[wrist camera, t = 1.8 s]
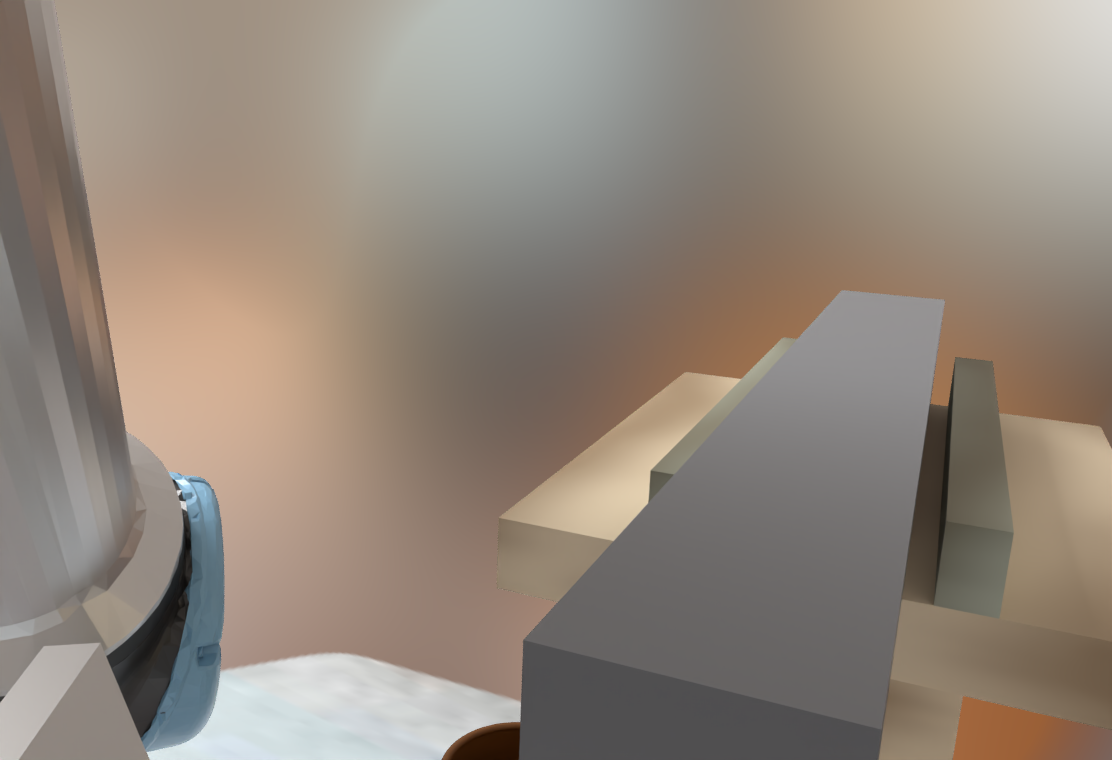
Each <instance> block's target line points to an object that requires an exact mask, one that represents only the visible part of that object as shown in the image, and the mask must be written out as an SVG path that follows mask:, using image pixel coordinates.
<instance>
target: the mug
mask: <svg viewBox="0 0 1112 760" xmlns="http://www.w3.org/2000/svg"><path fill="white" fill-rule="evenodd" d="M519 749H520V722H511V723H500V724H494V725H490V726H486V727H482V728H479V729H477V730H474V731H472V732H470V733H468V734H466V735H464V736H463V737H461V738H460V739H458V740H457V741H456V742H455V743H453V744H452V745H451V746H450V748H449V749H448V750H447V751H446V753H445V755H444V756H443V758H442V760H519Z"/></svg>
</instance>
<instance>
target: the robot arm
mask: <svg viewBox="0 0 1112 760" xmlns="http://www.w3.org/2000/svg"><path fill="white" fill-rule="evenodd" d="M223 623H224V552H223V537H222V525H221V517H220V511H219V504H218V501H217V498H216V495H215V492H214V490H213V489H212V488H211V486H210V485H209V483H208V482H207V481H206V480H205V479H202V478H200V477H197V476H182V475H181V474H179V473H174V472H168V471H167V470H166V468H165V466H164V465H163V463H162V462H161V461H160V460H159V458H158V457H157V456H156V455H155V454H154V453H153V452H152V451H151V450H150V449H149V448H148V447H147V446H145V445H144V444H143V443H142V442H141V441H139V440H138V439H137V438H136V437H134V436H133V435H131V434H129V433H128V432H126V430H125V423H124V417H123V411H122V405H121V400H120V393H119V387H118V381H117V375H116V369H115V363H114V357H113V351H112V345H111V339H110V333H109V327H108V321H107V315H106V309H105V303H104V297H103V290H102V285H101V278H100V272H99V266H98V260H97V255H96V248H95V242H94V237H93V230H92V224H91V218H90V212H89V207H88V200H87V194H86V189H85V182H84V176H83V170H82V164H81V158H80V152H79V146H78V140H77V134H76V127H75V122H74V116H73V109H72V104H71V97H70V91H69V85H68V80H67V73H66V68H65V61H64V55H63V49H62V43H61V37H60V31H59V25H58V19H57V13H56V7H55V2H54V0H0V760H149V757H148V755H147V753H146V752H149V751H154V750H158V749H163V748H167V747H172V746H176V745H180V744H182V743H184V742H187V741H189V740H190V739H192V738H193V737H195V736H196V735H197V734H198V733H199V732H200V731H201V730H202V729H203V728H204V726H205V725H206V723H207V722H208V720H209V718H210V716H211V714H212V711H213V708H214V704H215V700H216V695H217V690H218V685H219V678H220V666H221V665H220V664H221V648H220V645H219V643H220V640H221V637H222V629H223Z"/></svg>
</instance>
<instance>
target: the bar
mask: <svg viewBox="0 0 1112 760" xmlns="http://www.w3.org/2000/svg"><path fill="white" fill-rule="evenodd" d="M944 303H945V300H940V299H929V298H918V297H907V296H897V295H887V294H876V293H864V292H854V291H844V290H843V291H841V292H840V293H839V294H838V295H837V296H836V297H835V298H834V300H833V301H832V302H831V303H830V304H829V305H828V306H827V307H826V308H825V309H824V311H823V312H822V313H821V314H820V315H819V316H818V317H817V318H816V319H815V320H814V321H813V323H812V324H811V325H810V326H809V327H808V328H807V329H806V330H805V331H804V333H803V334H802V335H801V336H800V337H799V338H798V339H797V340H796V341H795V342H794V343H793V345H792V346H791V347H790V348H789V349H788V350H787V351H786V352H785V353H784V354H783V356H782V357H781V358H780V359H779V360H778V361H777V362H776V363H775V364H774V365H773V367H772V368H771V369H770V370H769V371H768V372H767V373H766V374H765V375H764V376H763V377H762V379H761V380H760V381H759V382H758V383H757V384H756V385H755V386H754V387H753V388H752V390H751V391H750V392H749V393H748V394H747V395H746V396H745V397H744V398H743V399H742V401H741V402H740V403H739V404H738V405H737V406H736V407H735V408H734V409H733V410H732V412H731V413H730V414H729V415H728V416H727V417H726V418H725V419H724V420H723V421H722V423H721V424H720V425H719V426H718V427H717V428H716V429H715V430H714V431H713V432H712V434H711V435H710V436H709V437H708V438H707V439H706V440H705V441H704V442H703V443H702V444H701V446H700V447H699V448H698V449H697V450H696V451H695V452H694V453H693V454H692V455H691V457H690V458H689V459H688V460H687V461H686V462H685V463H684V464H683V465H682V466H681V468H680V469H679V470H678V471H677V472H676V473H675V474H674V475H673V476H672V477H671V479H670V480H669V481H668V482H667V483H666V484H665V485H664V486H663V487H662V488H661V490H660V491H659V492H658V493H657V494H656V495H655V496H654V497H653V498H652V499H651V501H650V502H649V503H648V504H647V505H646V506H645V507H644V508H643V509H642V510H641V511H640V513H639V514H638V515H637V516H636V517H635V518H634V519H633V520H632V521H631V522H630V524H629V525H628V526H627V527H626V528H625V529H624V530H623V531H622V532H621V533H620V535H619V536H618V537H617V538H616V539H615V540H614V541H613V542H612V543H611V544H610V546H609V547H608V548H607V549H606V550H605V551H604V552H603V553H602V554H601V555H600V557H599V558H598V559H597V560H596V561H595V562H594V563H593V564H592V565H591V566H590V568H589V569H588V570H587V571H586V572H585V573H584V574H583V575H582V576H581V577H580V579H579V580H578V581H577V582H576V583H575V584H574V585H573V586H572V587H571V588H570V589H569V591H568V592H567V593H566V594H565V595H564V596H563V597H562V598H561V599H560V600H559V602H558V603H557V604H556V605H555V606H554V607H553V608H552V609H551V611H550V612H549V613H548V614H547V615H546V616H545V617H544V618H543V619H542V620H541V621H540V623H539V624H538V625H537V626H536V627H535V628H534V629H533V630H532V631H531V632H530V633H529V635H528V636H527V637H526V638H525V639H524V640H523V666H522V667H523V669H522V694H521V721H520V749H519V760H879V754H880V747H881V740H882V733H883V726H884V719H885V712H886V705H887V698H888V692H889V685H890V678H891V671H892V664H893V657H894V650H895V643H896V637H897V630H898V623H899V616H900V609H901V602H902V595H903V588H904V581H905V575H906V568H907V561H908V554H909V547H910V540H911V533H912V526H913V520H914V513H915V506H916V499H917V492H918V485H919V478H920V471H921V464H922V458H923V451H924V444H925V437H926V430H927V423H928V416H929V409H930V403H931V396H932V389H933V381H934V374H935V367H936V360H937V353H938V345H939V339H940V332H941V324H942V318H943V310H944Z"/></svg>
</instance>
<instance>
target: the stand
mask: <svg viewBox="0 0 1112 760" xmlns="http://www.w3.org/2000/svg"><path fill="white" fill-rule="evenodd" d="M796 340H797V339H791V338H782V339H781V340H780V341H779V342H778V343H777V344H776V345H775V346H774V347H773V348H772V349H771V350H770V351H769V352H768V353H767V354H766V355H765V356H764V357H763V358H762V359H761V360H760V361H759V362H758V363H757V364H756V365H755V366H754V367H753V368H752V369H751V370H750V371H749V372H748V373H747V374H746V375H745V376H744V377H743V378H742V379H735V378H727V377H720V376H712V375H704V374H697V373H688V372H685V373H684V374H683V375H681V376H680V377H679V378H678V379H676V380H675V381H674V382H672V383H671V384H670V385H668V386H667V387H666V388H665V389H663V390H662V391H661V392H659V393H658V394H657V395H656V396H654V397H653V398H652V399H650V400H649V401H648V402H647V403H645V404H644V405H643V406H641V407H640V408H639V409H638V410H636V411H635V412H634V413H632V414H631V415H630V416H629V417H627V418H626V419H625V420H624V421H622V422H621V423H620V424H618V425H617V426H616V427H615V428H613V429H612V430H611V431H609V432H608V433H607V434H606V435H604V436H603V437H602V438H600V439H599V440H598V441H597V442H595V443H594V444H593V445H591V446H590V447H589V448H588V449H586V450H585V451H584V452H582V453H581V454H580V455H579V456H577V457H576V458H575V459H574V460H572V461H571V462H570V463H568V464H567V465H566V466H565V467H563V468H562V469H561V470H559V471H558V472H557V473H556V474H554V475H553V476H552V477H550V478H549V479H548V480H546V481H545V482H544V483H543V484H541V485H540V486H539V487H537V488H536V489H535V490H534V491H532V492H531V493H530V494H529V495H527V496H526V497H525V498H523V499H522V500H521V501H520V502H518V503H517V504H516V505H514V506H513V507H512V508H511V509H509V510H508V511H507V512H505V513H504V514H503V515H502V516H500V517H499V525H498V561H497V588H499V589H503V590H508V591H513V592H517V593H521V594H525V595H529V596H534V597H538V598H542V599H547V600H551V601H555V602H559V600H560V599H561V598H562V597H563V596H564V595H565V594H566V593H567V592H568V591H569V589H570V588H571V587H572V586H573V585H574V584H575V583H576V582H577V581H578V580H579V579H580V577H581V576H582V575H583V574H584V573H585V572H586V571H587V570H588V569H589V568H590V566H591V565H592V564H593V563H594V562H595V561H596V560H597V559H598V558H599V557H600V555H601V554H602V553H603V552H604V551H605V550H606V549H607V548H608V547H609V546H610V544H611V543H612V542H613V541H614V540H615V539H616V538H617V537H618V536H619V535H620V533H621V532H622V531H623V530H624V529H625V528H626V527H627V526H628V525H629V524H630V522H631V521H632V520H633V519H634V518H635V517H636V516H637V515H638V514H639V513H640V511H641V510H642V509H643V508H644V507H645V506H646V505H647V504H648V503H649V502H650V501H651V499H652V498H653V497H654V496H655V495H656V494H657V493H658V492H659V491H660V490H661V488H662V487H663V486H664V485H665V484H666V483H667V482H668V481H669V480H670V479H671V477H672V476H673V475H674V474H675V473H676V472H677V471H678V470H679V469H680V468H681V466H682V465H683V464H684V463H685V462H686V461H687V460H688V459H689V458H690V457H691V455H692V454H693V453H694V452H695V451H696V450H697V449H698V448H699V447H700V446H701V444H702V443H703V442H704V441H705V440H706V439H707V438H708V437H709V436H710V435H711V434H712V432H713V431H714V430H715V429H716V428H717V427H718V426H719V425H720V424H721V423H722V421H723V420H724V419H725V418H726V417H727V416H728V415H729V414H730V413H731V412H732V410H733V409H734V408H735V407H736V406H737V405H738V404H739V403H740V402H741V401H742V399H743V398H744V397H745V396H746V395H747V394H748V393H749V392H750V391H751V390H752V388H753V387H754V386H755V385H756V384H757V383H758V382H759V381H760V380H761V379H762V377H763V376H764V375H765V374H766V373H767V372H768V371H769V370H770V369H771V368H772V367H773V365H774V364H775V363H776V362H777V361H778V360H779V359H780V358H781V357H782V356H783V354H784V353H785V352H786V351H787V350H788V349H789V348H790V347H791V346H792V345H793V343H794V342H795V341H796ZM963 696H966V697H971V698H975V699H979V700H984V701H988V702H993V703H997V704H1001V705H1005V706H1010V707H1014V708H1018V709H1023V710H1027V711H1031V712H1036V713H1040V714H1045V715H1049V716H1053V717H1057V718H1062V719H1066V720H1070V721H1075V722H1079V723H1083V724H1088V725H1092V726H1096V727H1100V728H1105V729H1109V730H1112V449H1111V447H1110V445H1109V443H1108V441H1107V439H1106V437H1105V435H1104V433H1103V431H1102V429H1101V427H1100V426H1093V425H1085V424H1078V423H1070V422H1063V421H1055V420H1047V419H1040V418H1032V417H1024V416H1016V415H1009V414H1001V413H999V410H998V401H997V393H996V385H995V377H994V369H993V362H992V361H985V360H976V359H967V358H958V357H955V364H954V371H953V377H952V384H951V391H950V398H949V405H948V406H940V405H933V404H930V409H929V416H928V423H927V430H926V437H925V444H924V451H923V458H922V464H921V471H920V478H919V485H918V492H917V499H916V506H915V513H914V520H913V526H912V533H911V540H910V547H909V554H908V561H907V568H906V575H905V581H904V588H903V595H902V602H901V609H900V616H899V623H898V630H897V637H896V643H895V650H894V657H893V664H892V671H891V678H890V685H889V692H888V698H887V705H886V712H885V719H884V726H883V733H882V740H881V747H880V754H879V760H952V759H953V753H954V746H955V741H956V734H957V728H958V722H959V716H960V710H961V704H962V697H963Z"/></svg>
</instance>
